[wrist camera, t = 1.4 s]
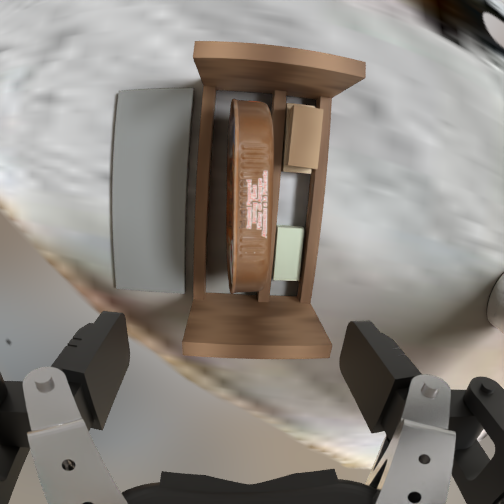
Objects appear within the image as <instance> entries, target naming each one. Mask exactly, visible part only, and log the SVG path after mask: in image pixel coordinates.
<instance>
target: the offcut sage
mask: <svg viewBox="0 0 504 504" xmlns="http://www.w3.org/2000/svg"><path fill="white" fill-rule="evenodd" d="M303 237H304V228H303V227H302V226H285V225H276V237H275V250H274V262H273V275H272V277H273V280H282V281H299V275H300V266H301V257H302V247H303Z"/></svg>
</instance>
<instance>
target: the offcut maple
mask: <svg viewBox="0 0 504 504" xmlns="http://www.w3.org/2000/svg"><path fill="white" fill-rule="evenodd" d="M293 105H294V104H293V103H287V104H286V109H285V123H284V137H283V151H282V163H281V171H283V172H296V173H308V174H311V169H310V168H302V167H295V166H287V165H285V156H286V146H287V136H288V127H289V116H290V108H291V107H292V106H293ZM295 105H301V106H307V107H313V108H315V106H310V105H302V104H295Z"/></svg>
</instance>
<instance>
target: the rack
mask: <svg viewBox="0 0 504 504" xmlns="http://www.w3.org/2000/svg"><path fill="white" fill-rule="evenodd" d="M193 59H194V62H195V64H196V67H197V69H198V72H199V75H200V77H201V80H202V83H203V85H204V86H203V97H202V108H201V120H200V133H199V147H198V162H197V180H196V201H195V228H194V282H193V302H192V306H191V310H190V314H189V318H188V321H187V325H186V329H185V333H184V337H183V341H182V346H183V355H187V356H201V357H219V358H246V359H313V358H329V357H330V353H331V349H332V343H331V341H330V339H329V338H328V336H327V334H326V332H325V330H324V328H323V326H322V324H321V322H320V321H319V319H318V317H317V315H316V313H315V311H314V309H313V307H312V305H311V304H310V302H311V296H312V289H313V283H314V276H315V269H316V261H317V254H318V246H319V238H320V230H321V222H322V213H323V204H324V194H325V184H326V173H327V162H328V149H329V136H330V120H331V103H332V98H333V97H334V96H336V95H338V94H339V93H341V92H343V91H344V90H346V89H348V88H349V87H351V86H353V85H354V84H356V83H358V82H359V81H361V80H363V79H365V70H366V62H362V61H358V60H354V59H350V58H346V57H341V56H336V55H332V54H326V53H321V52H316V51H310V50H304V49H297V48H290V47H283V46H274V45H265V44H254V43H240V42H217V41H195V46H194V53H193ZM216 90H226V91H243V92H256V93H267V94H273V96H272V110H271V117H272V123H273V137H274V172H273V209H272V233H271V254H270V266H269V274H268V279H267V282H266V285H265V287H264V288H263V290H261V291H257V295H245V294H224V293H206V253H207V225H208V203H209V184H210V167H211V152H212V137H213V124H214V112H215V100H216ZM286 96H294V97H302V98H309V99H315V100H316V108H319V109H323V121H322V131H321V142H320V151H319V161H318V169H311V176H310V187H309V198H308V208H307V218H306V227H305V236H304V245H303V253H302V262H301V270H300V277H299V285H298V293H297V296H271V295H270V287H271V276H272V266H273V256H274V245H275V234H276V223H277V212H278V200H279V188H280V176H281V163H282V151H283V137H284V123H285V109H286Z"/></svg>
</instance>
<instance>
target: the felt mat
mask: <svg viewBox="0 0 504 504" xmlns="http://www.w3.org/2000/svg"><path fill="white" fill-rule="evenodd" d="M193 96H194V88H159V89H138V90H124V91H119V94H118V103H117V112H116V123H115V137H114V153H113V182H112V218H113V248H114V265H115V279H116V289H127V290H139V291H151V292H165V293H180V294H184V293H185V236H186V201H187V178H188V160H189V144H190V131H191V118H192V106H193Z"/></svg>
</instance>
